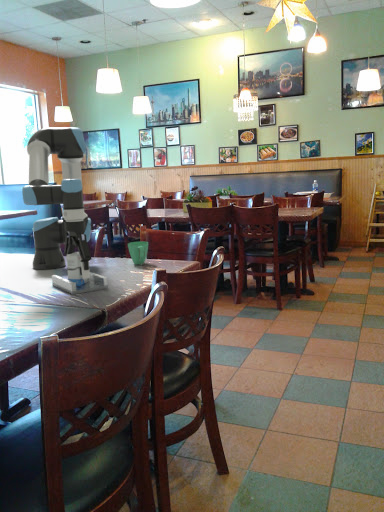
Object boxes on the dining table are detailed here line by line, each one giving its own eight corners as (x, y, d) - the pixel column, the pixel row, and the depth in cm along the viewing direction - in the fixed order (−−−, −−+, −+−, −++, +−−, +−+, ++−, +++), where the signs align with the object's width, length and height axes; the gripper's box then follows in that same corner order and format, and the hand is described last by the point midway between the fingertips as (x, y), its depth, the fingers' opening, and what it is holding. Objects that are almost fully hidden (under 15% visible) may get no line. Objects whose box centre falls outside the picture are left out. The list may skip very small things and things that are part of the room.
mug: (127, 262, 218) (126, 242, 217) (146, 261, 221) (145, 241, 220) (132, 268, 205) (131, 246, 203) (153, 266, 208) (152, 245, 206)
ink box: (79, 286, 167) (77, 255, 165) (68, 286, 168) (65, 255, 166) (90, 281, 175) (88, 251, 173) (78, 280, 177) (76, 251, 174)
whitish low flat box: (52, 285, 176) (51, 275, 175) (85, 279, 184) (85, 270, 183) (72, 294, 160) (71, 283, 159) (107, 288, 168) (107, 277, 168)
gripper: (52, 219, 175) (57, 272, 179) (78, 223, 156) (82, 282, 159) (71, 218, 180) (75, 269, 183) (98, 221, 160) (102, 279, 164)
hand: (78, 275), depth 171 cm, fingers open, 13 cm apart
